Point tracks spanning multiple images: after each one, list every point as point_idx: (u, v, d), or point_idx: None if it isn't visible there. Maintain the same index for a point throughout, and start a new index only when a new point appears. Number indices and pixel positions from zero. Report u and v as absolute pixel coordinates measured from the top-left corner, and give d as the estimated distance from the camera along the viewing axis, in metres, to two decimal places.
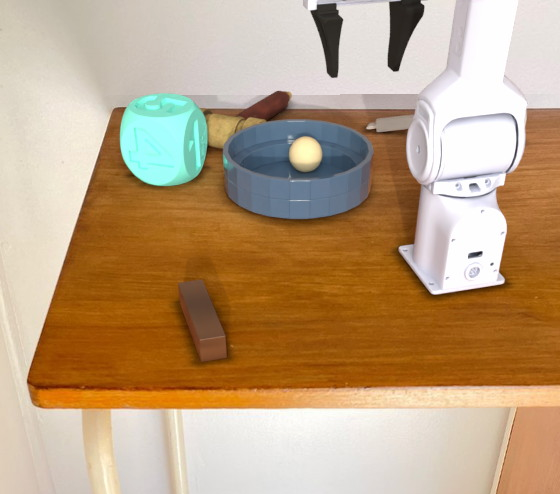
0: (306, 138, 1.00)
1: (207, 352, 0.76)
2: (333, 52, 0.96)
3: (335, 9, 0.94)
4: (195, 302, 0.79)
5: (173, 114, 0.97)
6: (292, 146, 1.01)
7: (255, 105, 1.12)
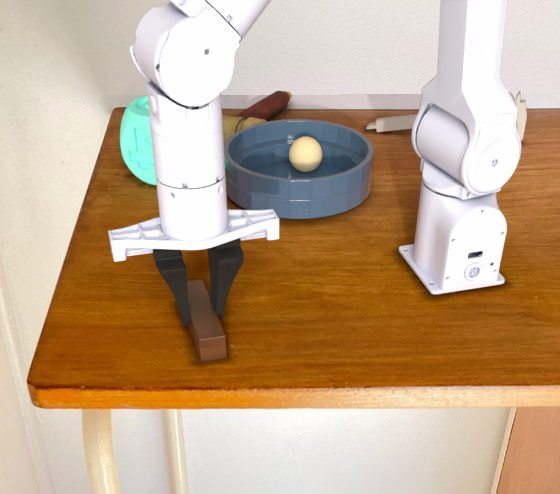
0: (306, 138, 1.00)
1: (207, 352, 0.76)
2: (181, 301, 0.75)
3: (178, 254, 0.73)
4: (195, 302, 0.79)
5: None
6: (292, 146, 1.01)
7: (255, 105, 1.12)
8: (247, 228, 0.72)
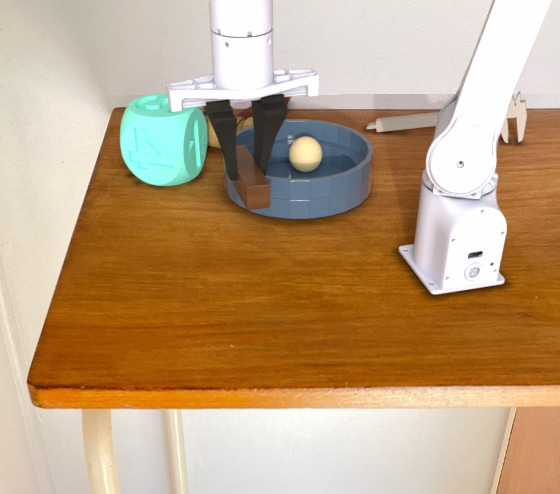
0: (306, 138, 1.00)
1: (253, 200, 0.83)
2: (229, 154, 0.83)
3: (228, 107, 0.81)
4: (240, 160, 0.87)
5: (173, 114, 0.97)
6: (292, 146, 1.01)
7: None
8: (291, 81, 0.80)
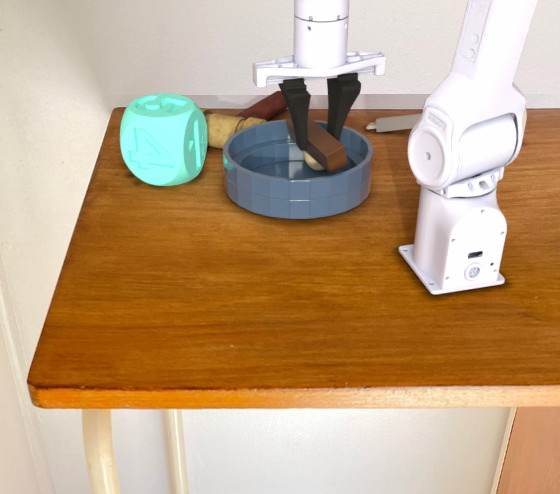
0: None
1: (333, 164, 0.95)
2: (301, 126, 0.94)
3: (303, 84, 0.92)
4: None
5: (173, 114, 0.97)
6: None
7: (255, 105, 1.12)
8: (362, 62, 0.91)
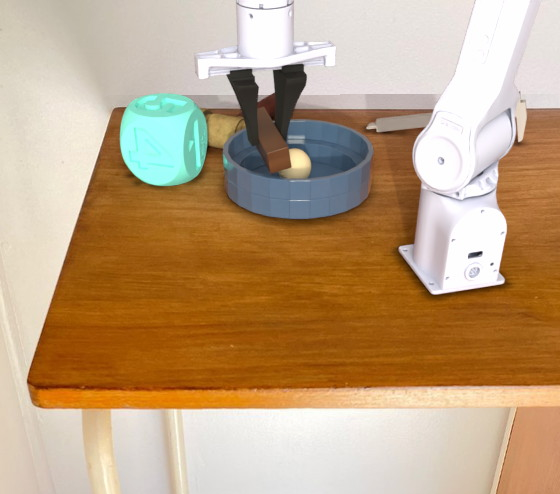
0: (288, 174, 0.98)
1: (274, 164, 0.90)
2: (251, 120, 0.89)
3: (251, 75, 0.87)
4: (260, 125, 0.93)
5: (173, 114, 0.97)
6: None
7: None
8: (310, 52, 0.86)
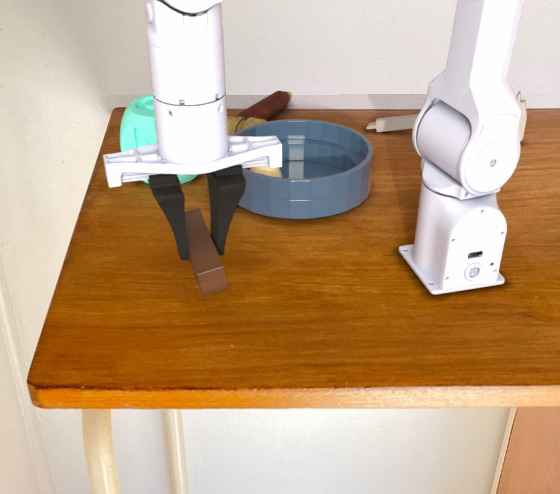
0: None
1: (208, 286, 0.73)
2: (178, 232, 0.72)
3: (175, 181, 0.69)
4: (192, 233, 0.75)
5: None
6: None
7: (255, 105, 1.12)
8: (248, 152, 0.69)
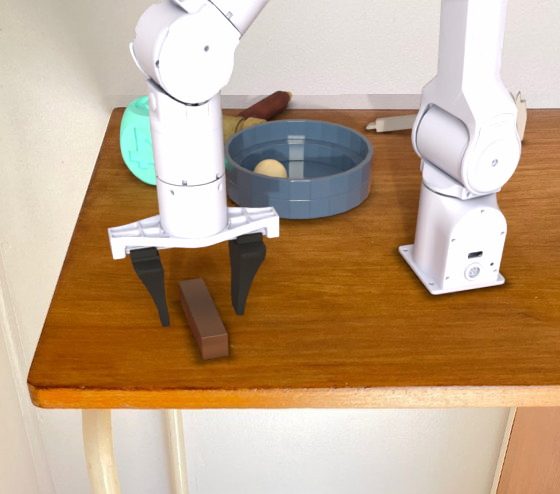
0: None
1: (209, 350, 0.76)
2: (159, 302, 0.75)
3: (155, 255, 0.72)
4: (196, 300, 0.79)
5: None
6: None
7: (255, 105, 1.12)
8: (247, 225, 0.72)
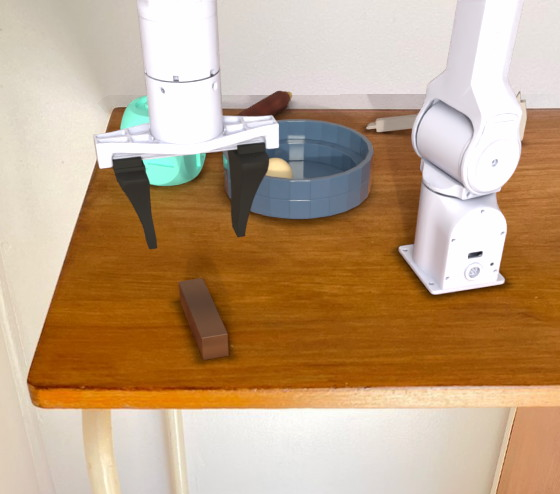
0: None
1: (209, 350, 0.76)
2: (144, 219, 0.69)
3: (140, 165, 0.67)
4: (196, 300, 0.79)
5: None
6: None
7: (255, 105, 1.12)
8: (244, 132, 0.66)
